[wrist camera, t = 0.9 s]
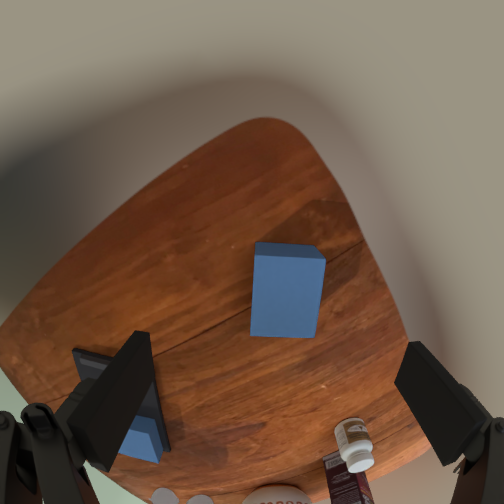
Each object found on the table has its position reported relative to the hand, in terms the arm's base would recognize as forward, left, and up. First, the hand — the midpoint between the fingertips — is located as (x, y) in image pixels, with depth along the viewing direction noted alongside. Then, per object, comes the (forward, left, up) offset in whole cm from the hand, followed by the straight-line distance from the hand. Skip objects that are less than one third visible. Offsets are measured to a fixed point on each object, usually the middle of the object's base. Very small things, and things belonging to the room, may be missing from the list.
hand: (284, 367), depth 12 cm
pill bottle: (+22, +13, -15) cm, 30 cm away
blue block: (0, +1, -15) cm, 15 cm away
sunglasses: (+52, -13, -15) cm, 56 cm away
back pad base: (+21, -19, -15) cm, 32 cm away
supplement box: (+32, +15, -15) cm, 39 cm away
